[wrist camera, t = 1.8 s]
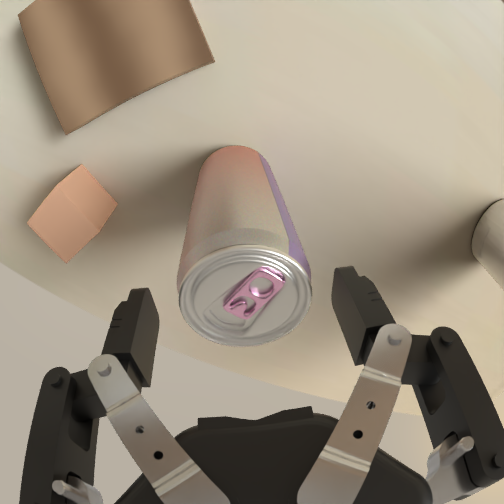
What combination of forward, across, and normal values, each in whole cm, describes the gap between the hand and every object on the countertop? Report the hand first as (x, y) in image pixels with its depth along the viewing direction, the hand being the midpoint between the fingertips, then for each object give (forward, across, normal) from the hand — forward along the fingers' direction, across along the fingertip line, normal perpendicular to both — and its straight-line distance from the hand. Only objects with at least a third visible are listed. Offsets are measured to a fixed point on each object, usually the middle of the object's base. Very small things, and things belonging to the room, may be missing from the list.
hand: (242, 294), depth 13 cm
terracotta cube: (+15, +14, 0) cm, 20 cm away
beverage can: (+15, 0, 0) cm, 15 cm away
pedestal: (+15, +8, -14) cm, 22 cm away
